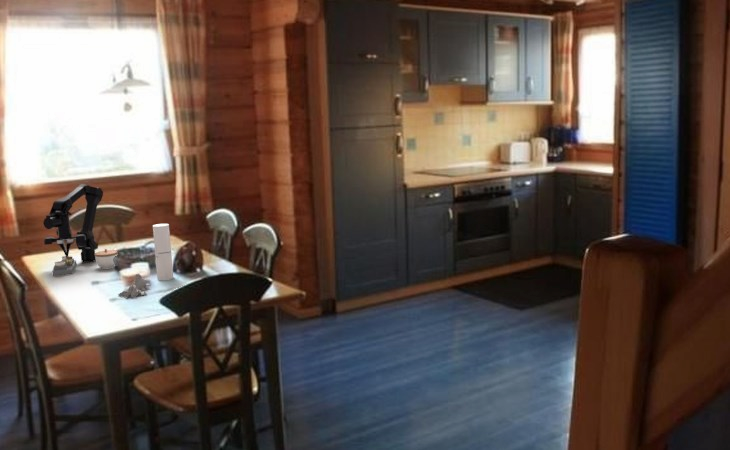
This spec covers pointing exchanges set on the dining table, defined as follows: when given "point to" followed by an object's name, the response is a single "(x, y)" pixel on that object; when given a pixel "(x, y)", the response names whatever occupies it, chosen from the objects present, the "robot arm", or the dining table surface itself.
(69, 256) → the white round cap
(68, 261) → the metal knob
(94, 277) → the dining table surface
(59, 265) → the knob
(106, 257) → the lidded jar
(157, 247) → the cylindrical container
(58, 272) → the mount
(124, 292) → the grey lumpy piece
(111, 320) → the dining table surface
